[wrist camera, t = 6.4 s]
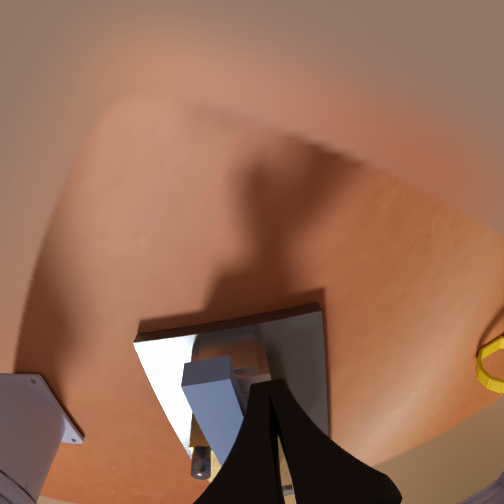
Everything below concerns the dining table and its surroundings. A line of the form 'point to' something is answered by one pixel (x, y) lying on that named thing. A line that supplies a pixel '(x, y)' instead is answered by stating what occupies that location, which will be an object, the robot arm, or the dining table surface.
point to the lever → (215, 401)
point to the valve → (240, 370)
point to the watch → (481, 373)
